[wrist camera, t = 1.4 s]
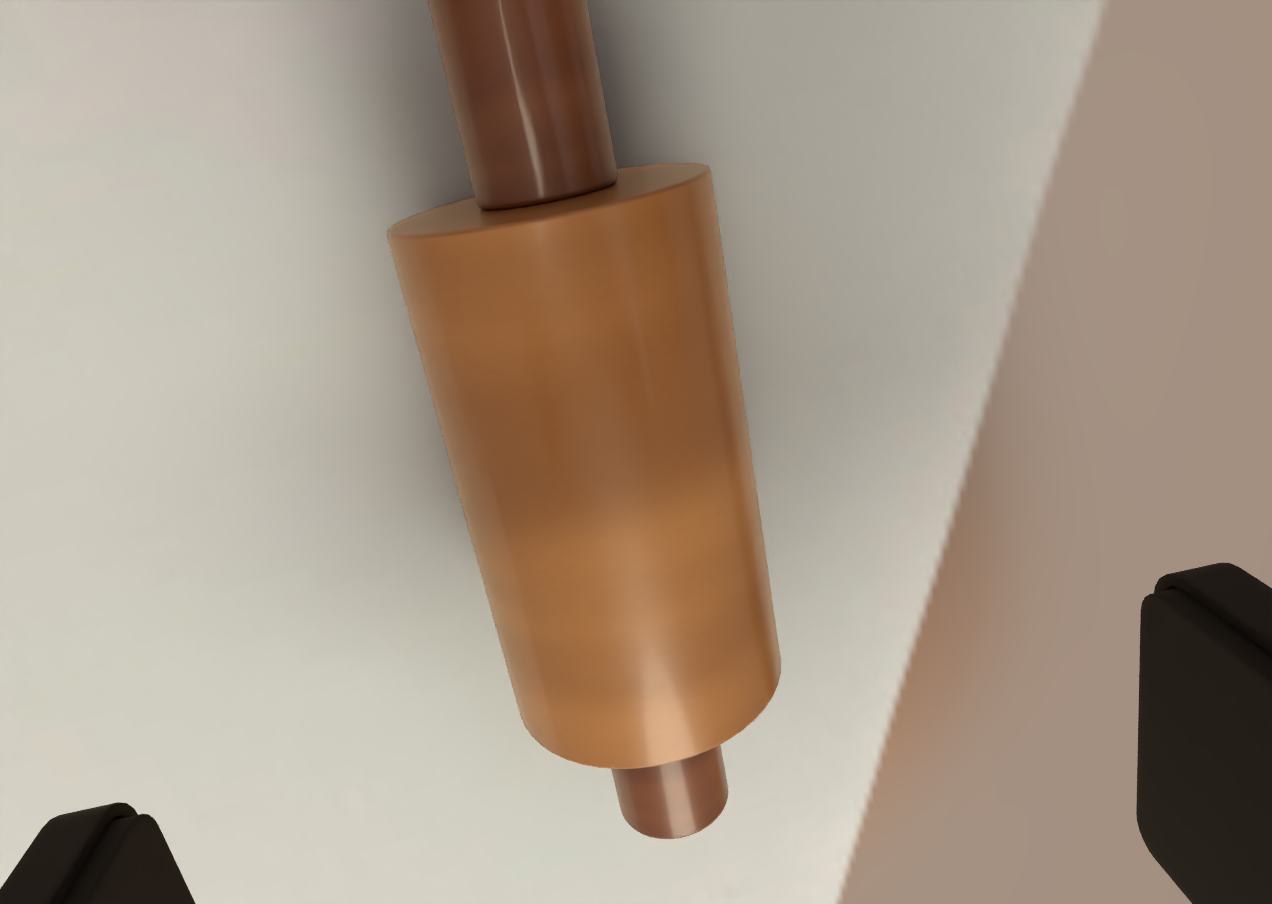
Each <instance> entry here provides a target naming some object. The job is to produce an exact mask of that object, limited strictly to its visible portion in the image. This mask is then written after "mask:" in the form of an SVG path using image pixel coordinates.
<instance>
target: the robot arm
mask: <svg viewBox="0 0 1272 904" xmlns="http://www.w3.org/2000/svg"><path fill="white" fill-rule="evenodd" d="M1137 822H1138V826H1139V829H1140V833H1141V835H1142V838H1143V840H1144V842H1145V844H1146V846H1147V848H1148V849H1149V851H1150V853H1151V854H1152V855H1153V857H1154V858H1155V859H1156V861H1157V862H1158V863H1159V864H1160V865H1161V867H1162V868H1163V869H1164V870H1165V871H1166V873H1167V874H1168V875H1169V876H1170V877H1171V878H1172V880H1173V881H1174V882H1175V883H1176V885H1177V886H1178V887H1179V888H1180V889H1181V891H1182V892H1183V893H1184V894H1185V895H1186V896H1187V898H1188V899H1189V900H1190V901H1191V902H1192V904H1272V588H1270V587H1269V586H1267V585H1266V584H1264V583H1263V582H1261V581H1260V580H1258V579H1257V578H1255V577H1253V576H1251V575H1250V574H1249V573H1247V572H1246V571H1244V570H1242V569H1241V568H1239V567H1237V566H1235V565H1233V564H1230V563H1217V564H1212V565H1208V566H1203V567H1199V568H1194V569H1190V570H1185V571H1180V572H1176V573H1171V574H1167V575H1165V576H1163V577H1161V578H1160V579H1159V580H1158V582H1157V584H1156V586H1155V590H1154V594H1150V595H1148V596H1146V597H1145V598H1144V600H1143V602H1142V607H1141V626H1140V674H1139V721H1138V767H1137ZM0 904H195V902H194V900H193V898H192V895H191V893H190V891H189V889H188V887H187V885H186V883H185V881H184V879H183V876H182V874H181V872H180V870H179V868H178V866H177V864H176V862H175V860H174V857H173V855H172V853H171V851H170V849H169V847H168V845H167V843H166V841H165V838H164V836H163V834H162V832H161V830H160V828H159V826H158V824H157V823H156V821H155V819H154V818H152V817H151V816H150V815H148V814H140V815H138V814H137V813H136V811H135V809H134V808H132V807H131V806H130V805H128V804H127V803H114V804H109V805H104V806H100V807H95V808H91V809H86V810H81V811H77V812H72V813H68V814H63V815H59V816H57V817H55V818H53V819H50V820H49V821H48V823H47V824H46V825H45V826H44V827H43V828H42V829H41V831H40V832H39V834H38V835H37V836H36V838H35V839H34V841H33V842H32V844H31V845H30V847H29V848H28V850H27V851H26V853H25V854H24V855H23V857H22V858H21V860H20V861H19V863H18V864H17V866H16V867H15V869H14V870H13V871H12V873H11V874H10V876H9V877H8V879H7V880H6V882H5V883H4V885H3V886H2V887H1V889H0Z"/></svg>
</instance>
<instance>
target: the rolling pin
mask: <svg viewBox="0 0 1272 904" xmlns="http://www.w3.org/2000/svg"><path fill="white" fill-rule="evenodd" d="M428 4H429V8H430V13H431V17H432V21H433V25H434V29H435V34H436V38H437V42H438V46H439V50H440V54H441V59H442V63H443V67H444V71H445V75H446V80H447V84H448V88H449V92H450V96H451V100H452V105H453V109H454V113H455V117H456V121H457V126H458V130H459V134H460V138H461V142H462V147H463V151H464V155H465V159H466V163H467V167H468V172H469V176H470V180H471V184H472V188H473V193H474V197H473V198H469V199H466V200H462V201H458V202H454V203H451V204H447V205H444V206H441V207H437V208H434V209H431V210H428V211H425V212H422V213H419V214H416V215H413V216H411V217H408V218H406V219H403V220H401V221H399V222H397V223H396V224H394V225H392V226H391V227H390V228H389V229H388V231H387V238H388V241H389V245H390V249H391V252H392V256H393V259H394V263H395V267H396V270H397V274H398V277H399V281H400V285H401V288H402V292H403V295H404V299H405V303H406V306H407V310H408V313H409V317H410V320H411V324H412V328H413V331H414V335H415V338H416V342H417V346H418V349H419V353H420V356H421V360H422V364H423V367H424V371H425V374H426V378H427V381H428V385H429V389H430V392H431V396H432V399H433V403H434V407H435V410H436V414H437V417H438V421H439V425H440V428H441V432H442V435H443V439H444V442H445V446H446V450H447V453H448V457H449V460H450V464H451V468H452V471H453V475H454V478H455V482H456V486H457V489H458V493H459V496H460V500H461V503H462V507H463V511H464V514H465V518H466V521H467V525H468V529H469V532H470V536H471V539H472V543H473V547H474V550H475V554H476V557H477V561H478V564H479V568H480V572H481V575H482V579H483V582H484V586H485V590H486V593H487V597H488V600H489V604H490V608H491V611H492V615H493V618H494V622H495V625H496V629H497V633H498V636H499V640H500V643H501V647H502V651H503V654H504V658H505V661H506V665H507V669H508V672H509V676H510V679H511V683H512V686H513V690H514V694H515V697H516V701H517V704H518V708H519V712H520V715H521V718H522V720H523V723H524V725H525V727H526V729H527V730H528V731H529V733H530V734H531V736H532V737H533V738H534V739H535V740H536V741H537V742H539V743H540V744H541V745H542V746H543V747H544V748H546V749H547V750H549V751H550V752H552V753H553V754H556V755H558V756H560V757H562V758H564V759H566V760H569V761H573V762H576V763H579V764H582V765H588V766H593V767H599V768H611V770H612V774H613V778H614V782H615V786H616V791H617V795H618V799H619V803H620V807H621V811H622V814H623V816H624V818H625V820H626V821H627V822H628V824H629V825H630V826H632V827H633V828H634V829H635V830H637V831H638V832H640V833H642V834H644V835H647V836H649V837H654V838H660V839H674V838H681V837H686V836H689V835H692V834H694V833H697V832H699V831H701V830H702V829H704V828H706V827H707V826H709V825H710V824H711V823H712V822H714V821H715V820H716V819H717V817H718V816H719V815H720V814H721V812H722V811H723V809H724V807H725V804H726V801H727V798H728V785H727V779H726V773H725V768H724V762H723V757H722V751H721V746H720V744H722V743H724V742H725V741H727V740H729V739H730V738H732V737H733V736H735V735H736V734H738V733H739V732H741V731H742V730H743V729H744V728H746V727H747V726H748V725H749V724H750V723H752V722H753V721H754V720H755V719H756V718H757V717H758V716H759V714H760V713H761V712H762V711H763V710H764V709H765V707H766V706H767V704H768V703H769V701H770V700H771V698H772V697H773V694H774V692H775V690H776V688H777V685H778V682H779V678H780V674H781V658H780V651H779V644H778V637H777V630H776V623H775V616H774V609H773V602H772V595H771V588H770V581H769V574H768V567H767V560H766V553H765V546H764V539H763V532H762V525H761V518H760V511H759V504H758V497H757V490H756V483H755V476H754V469H753V462H752V455H751V448H750V441H749V434H748V426H747V419H746V412H745V405H744V398H743V391H742V384H741V377H740V370H739V363H738V356H737V349H736V342H735V335H734V328H733V321H732V314H731V307H730V300H729V293H728V286H727V279H726V272H725V265H724V258H723V251H722V244H721V237H720V230H719V223H718V216H717V209H716V202H715V195H714V188H713V181H712V174H711V170H710V168H709V166H707V165H704V164H699V163H666V164H654V165H645V166H636V167H628V168H621V169H617V167H616V162H615V156H614V151H613V145H612V140H611V134H610V129H609V123H608V117H607V112H606V106H605V101H604V95H603V90H602V84H601V79H600V73H599V67H598V62H597V56H596V51H595V45H594V40H593V34H592V29H591V23H590V17H589V12H588V6H587V1H586V0H428Z"/></svg>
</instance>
